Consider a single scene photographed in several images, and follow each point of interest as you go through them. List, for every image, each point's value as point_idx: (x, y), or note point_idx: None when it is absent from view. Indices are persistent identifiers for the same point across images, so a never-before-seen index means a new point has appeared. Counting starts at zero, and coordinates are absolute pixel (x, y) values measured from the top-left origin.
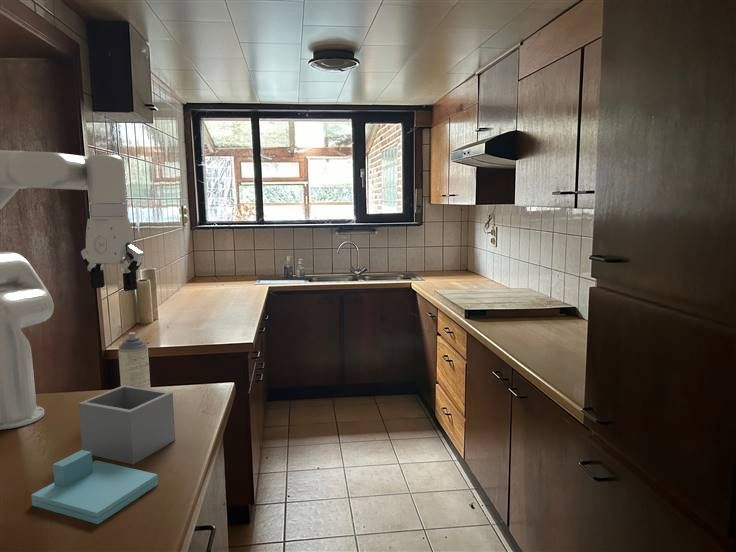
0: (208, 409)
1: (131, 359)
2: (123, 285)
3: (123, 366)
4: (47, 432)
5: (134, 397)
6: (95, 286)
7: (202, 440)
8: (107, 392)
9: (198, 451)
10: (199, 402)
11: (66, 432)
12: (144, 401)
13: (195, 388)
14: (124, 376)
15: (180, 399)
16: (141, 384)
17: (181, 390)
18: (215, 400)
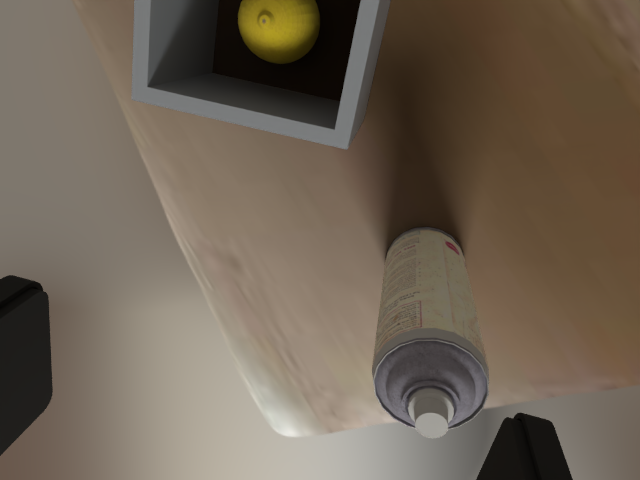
0: (230, 276)
1: (407, 314)
2: (1, 314)
3: (443, 298)
4: (611, 70)
5: (295, 113)
6: (500, 444)
7: None
8: (358, 61)
9: (105, 28)
10: (279, 318)
11: (545, 80)
12: (255, 103)
13: (343, 405)
14: (439, 280)
15: (341, 334)
16: (388, 280)
17: (374, 392)
18: (246, 332)
